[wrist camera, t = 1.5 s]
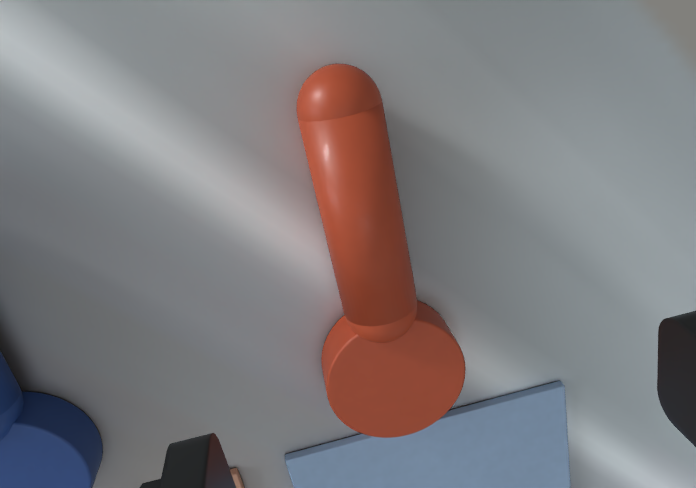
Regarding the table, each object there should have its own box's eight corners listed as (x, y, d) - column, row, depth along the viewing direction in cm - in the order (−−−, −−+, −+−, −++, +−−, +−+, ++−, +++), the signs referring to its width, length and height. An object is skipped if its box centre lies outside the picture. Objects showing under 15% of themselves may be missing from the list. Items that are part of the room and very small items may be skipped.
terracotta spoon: (244, 79, 18) (242, 91, 16) (405, 42, 18) (427, 48, 16) (336, 422, 24) (345, 469, 21) (458, 389, 24) (480, 432, 22)
